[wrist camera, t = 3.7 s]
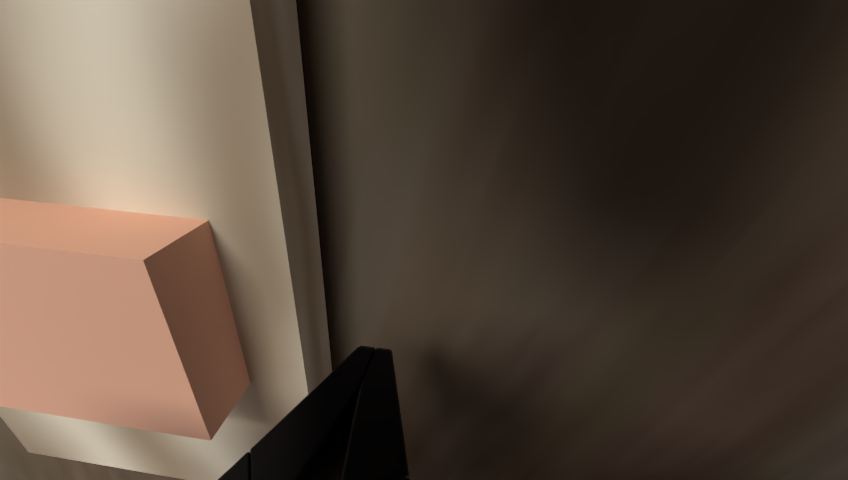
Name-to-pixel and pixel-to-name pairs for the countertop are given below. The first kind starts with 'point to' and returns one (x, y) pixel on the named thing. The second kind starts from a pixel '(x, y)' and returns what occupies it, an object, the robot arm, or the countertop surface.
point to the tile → (116, 319)
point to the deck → (176, 184)
